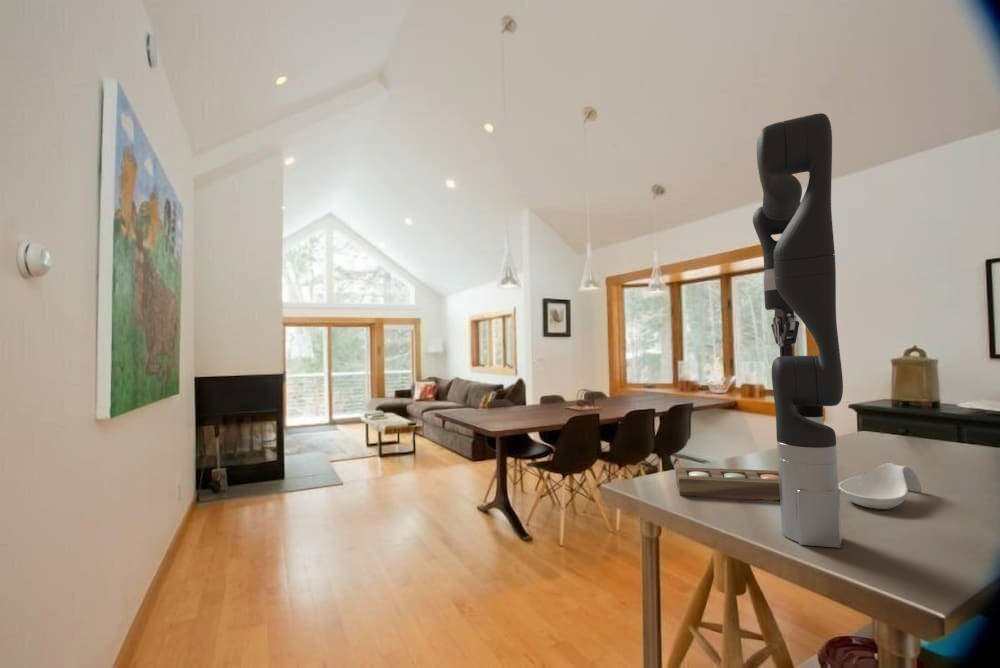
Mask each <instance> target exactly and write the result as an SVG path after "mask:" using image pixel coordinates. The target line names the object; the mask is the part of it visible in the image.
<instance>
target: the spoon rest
mask: <svg viewBox="0 0 1000 668" xmlns="http://www.w3.org/2000/svg"><path fill="white" fill-rule="evenodd" d="M838 484H839V492H840V493H841V494H842V495H843V496H844V497H845V498H846V499H847V500H848V501H850V502H852V503H854V504H855V505H859V507H860V506H862V507H864V508H867V509H873V510H874V509H875V510H890V509H893V508H895V507H897V506H899V505H900V504H902V503H903V502H905V500H906V498H907V497H908V493H909V492H912V493H913V492H914V493H922V492H923V491H922V490H923V489H922V485H921V482H920V480H919V478H918V476H917V473H916V472H915V471H914V469H912V467H910V466H908V465H897V464H894V463H891V462H889V463H888V462H887V463H883V464H880V465H878V466H877V467H874V468H872V469H870V470H867V471H865V472H862V473H860V474H858V475H855V476H852V477H849V478H848V479H847V478H846V479H844V480H842V481H840V482H838Z"/></svg>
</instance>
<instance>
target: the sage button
mask: <svg viewBox="0 0 1000 668" xmlns="http://www.w3.org/2000/svg"><path fill="white" fill-rule="evenodd" d="M724 478H745V475H743V474H738V473H725V474H724Z"/></svg>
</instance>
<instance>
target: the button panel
mask: <svg viewBox="0 0 1000 668" xmlns="http://www.w3.org/2000/svg"><path fill="white" fill-rule="evenodd" d="M690 472H705V473H708V474H709V477H698V476H689V473H690ZM725 473H738V474H743V475H745V478H724V474H725ZM764 474H772V475H778V476H779V473H778V470H768V469H767V470H766V469H741V468H739V469H738V468H735V469H734V468H712V467H710V468H708V467H686V466H685V467H680V466H676V467H675V480H676V481H675V482H676V485H677V486H676V487H677V490H678V494H679V496H680V497H681V496H682V497H700V498H701V497H702V498H717V499H719V498H720V499H737V500H738V499H740V500H754V499H763V500H762V501H773V500H780V491H779V480H772V479H761V477H760V476H761V475H764Z"/></svg>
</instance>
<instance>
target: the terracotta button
mask: <svg viewBox="0 0 1000 668" xmlns="http://www.w3.org/2000/svg"><path fill="white" fill-rule="evenodd" d="M760 477H761V479H772V480H779V476H778V475H772V474H764V475H761V476H760Z"/></svg>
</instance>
